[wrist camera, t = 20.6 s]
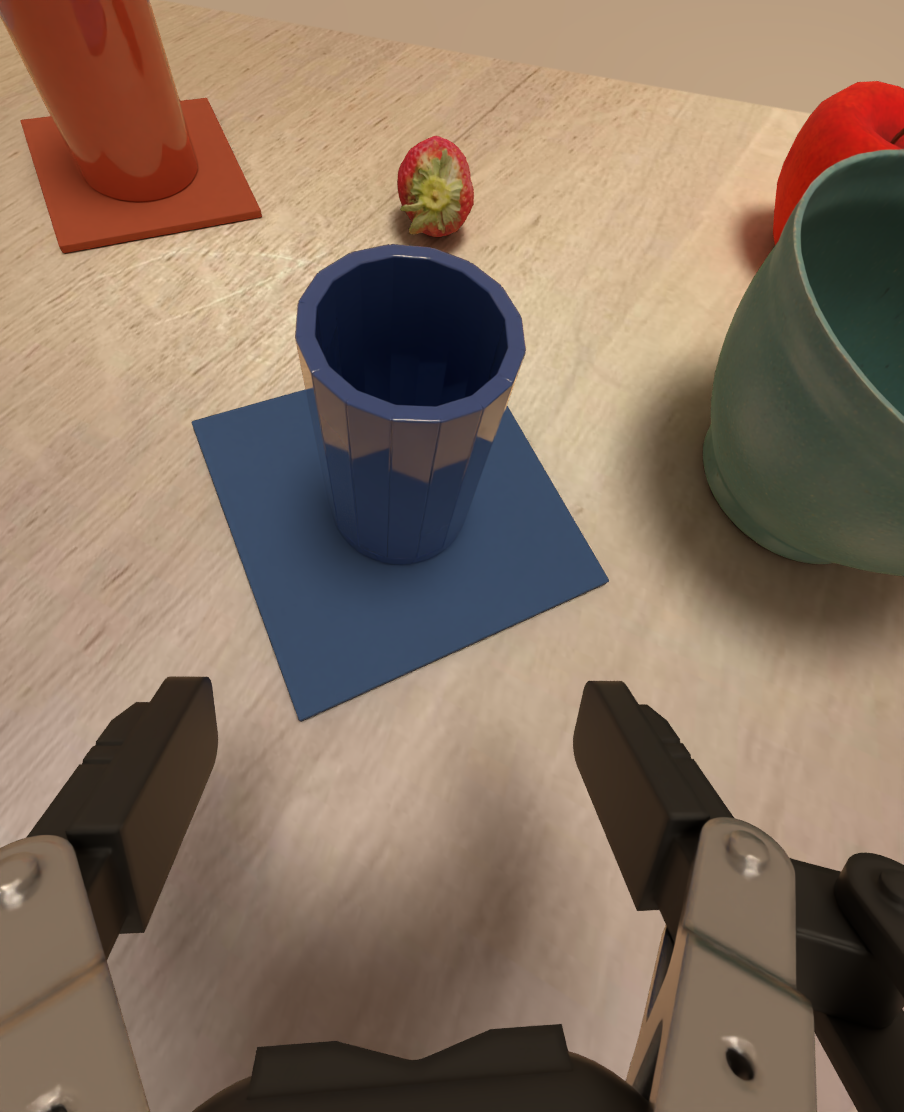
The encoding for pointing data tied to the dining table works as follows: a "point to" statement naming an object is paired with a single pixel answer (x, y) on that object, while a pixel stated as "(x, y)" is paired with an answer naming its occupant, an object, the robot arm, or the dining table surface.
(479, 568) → the blue mat
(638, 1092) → the robot arm
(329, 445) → the blue cup
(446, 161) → the fruit
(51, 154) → the red mat
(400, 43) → the dining table surface
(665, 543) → the dining table surface
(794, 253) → the flower pot
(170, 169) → the tall red cylinder
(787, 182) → the apple
